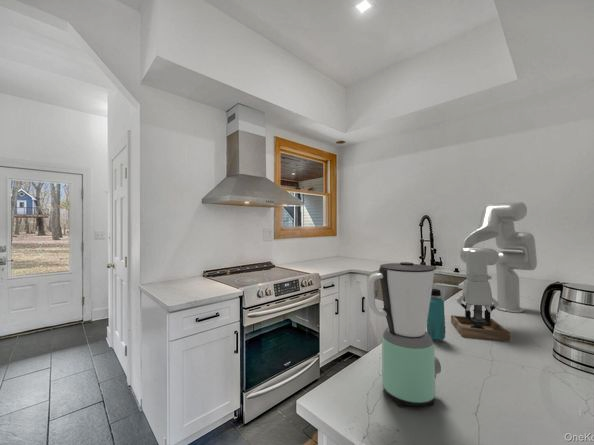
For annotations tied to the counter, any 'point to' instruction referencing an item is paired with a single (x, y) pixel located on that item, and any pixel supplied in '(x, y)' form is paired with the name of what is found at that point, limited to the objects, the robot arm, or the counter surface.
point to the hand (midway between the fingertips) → (477, 319)
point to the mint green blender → (406, 332)
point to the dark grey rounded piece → (478, 318)
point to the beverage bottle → (436, 317)
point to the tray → (490, 332)
